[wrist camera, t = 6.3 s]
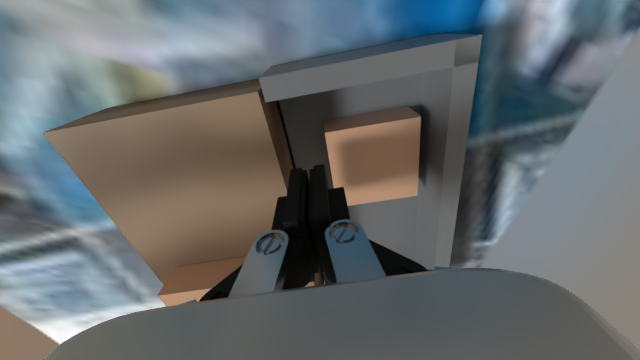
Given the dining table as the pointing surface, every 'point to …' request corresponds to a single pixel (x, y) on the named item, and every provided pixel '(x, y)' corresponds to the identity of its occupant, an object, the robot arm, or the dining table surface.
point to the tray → (384, 94)
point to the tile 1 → (196, 280)
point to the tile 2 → (375, 154)
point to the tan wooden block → (185, 172)
